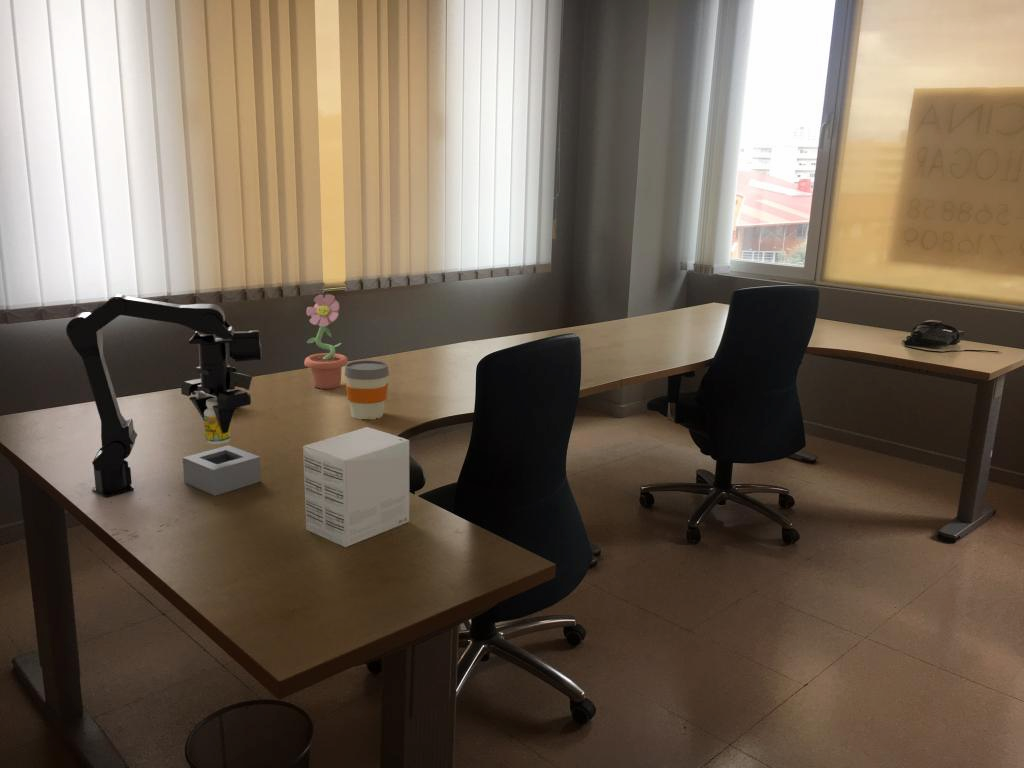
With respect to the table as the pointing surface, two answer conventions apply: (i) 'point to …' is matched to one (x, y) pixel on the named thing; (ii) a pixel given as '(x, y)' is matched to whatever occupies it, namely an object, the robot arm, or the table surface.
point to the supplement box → (356, 485)
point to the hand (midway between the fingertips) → (217, 430)
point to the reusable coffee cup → (366, 388)
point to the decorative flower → (325, 345)
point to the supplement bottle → (214, 425)
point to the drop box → (221, 470)
